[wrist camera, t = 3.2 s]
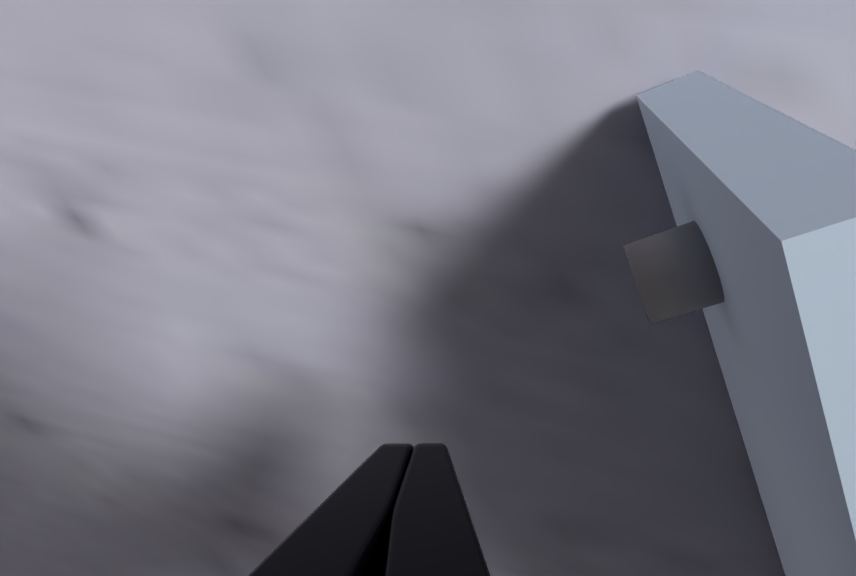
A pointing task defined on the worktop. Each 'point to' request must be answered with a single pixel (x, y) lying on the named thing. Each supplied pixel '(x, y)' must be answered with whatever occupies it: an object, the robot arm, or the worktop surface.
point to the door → (766, 296)
